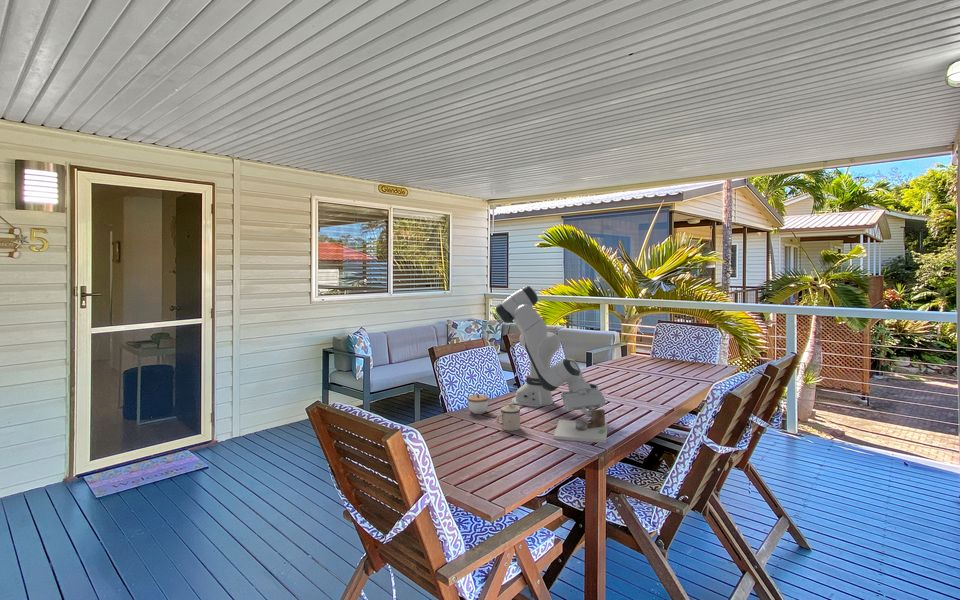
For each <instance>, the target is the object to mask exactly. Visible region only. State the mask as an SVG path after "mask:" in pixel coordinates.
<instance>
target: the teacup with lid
mask: <svg viewBox="0 0 960 600" xmlns="http://www.w3.org/2000/svg"><path fill="white" fill-rule="evenodd" d="M499 419H500V420H501V421H500V420H499ZM496 423H497V425H499V426H501V427H500V428H501V430H504V431H507V432H511V431H512V432H515V431H518V430H520V429H521V408H520V407H519V406H516V405H515V404H512V402H508V404H507V405H505V406H502V407H501V408H500V413H499V414H498V415H496Z"/></svg>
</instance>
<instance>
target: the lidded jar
mask: <svg viewBox="0 0 960 600" xmlns="http://www.w3.org/2000/svg"><path fill="white" fill-rule="evenodd" d="M489 398H490V397H489V396H488V395H486V394H479V393H477V394H473V395H469V396H468V397H467V404H468V408H469V410H470V411H471V412H472V414H475V415H482V414H484V413H485V412H486V411H487V409H488V406H489V401H490V399H489Z"/></svg>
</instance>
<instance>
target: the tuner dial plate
mask: <svg viewBox="0 0 960 600" xmlns="http://www.w3.org/2000/svg"><path fill="white" fill-rule="evenodd" d="M576 421H577V420H567V419H559V420H558V423H557V425H556V428H555V431H554V434H553V440H560V441H561V440H562V441H573V442H576V441H577V442H587V443H588V442H589V443H597V444H599V443H601V444H607V440H606V439H607V436H608V422H605V425H604V426H597V427H590V428H587V429H586V430H579V429H576ZM586 422H587V423H591V421H586Z"/></svg>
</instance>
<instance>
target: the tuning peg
mask: <svg viewBox="0 0 960 600" xmlns="http://www.w3.org/2000/svg"><path fill="white" fill-rule="evenodd" d="M605 416H606V410H605V409H603V408H600V409H595V410H594V409H593V410H592V411H591V417H590V422H591V423H587V422H588V421H585V420H575V421H576V429H579V430H586V429H587V428H590V427H597V426H604V425H605V423H606V420H605V419H606V417H605Z"/></svg>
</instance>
